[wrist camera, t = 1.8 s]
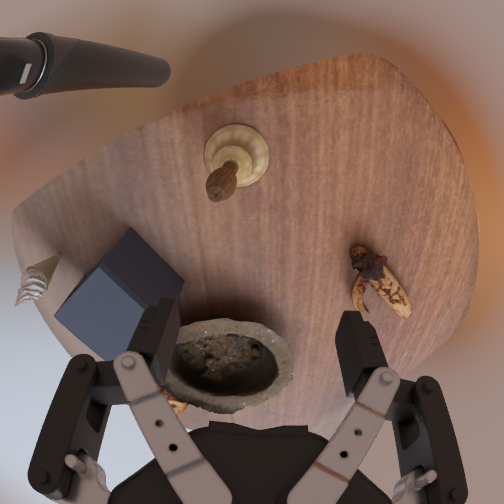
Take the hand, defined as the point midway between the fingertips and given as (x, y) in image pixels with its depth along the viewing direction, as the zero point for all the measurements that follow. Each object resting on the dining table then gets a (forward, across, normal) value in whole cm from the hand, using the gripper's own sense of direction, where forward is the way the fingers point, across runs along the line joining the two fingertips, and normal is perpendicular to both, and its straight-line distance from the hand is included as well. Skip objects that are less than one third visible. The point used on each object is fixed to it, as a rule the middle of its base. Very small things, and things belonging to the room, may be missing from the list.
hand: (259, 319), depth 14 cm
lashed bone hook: (+27, -20, +16) cm, 37 cm away
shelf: (+27, +21, +19) cm, 39 cm away
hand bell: (+27, +3, -2) cm, 27 cm away
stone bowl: (+27, +4, +32) cm, 42 cm away
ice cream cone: (+27, +35, +16) cm, 47 cm away
